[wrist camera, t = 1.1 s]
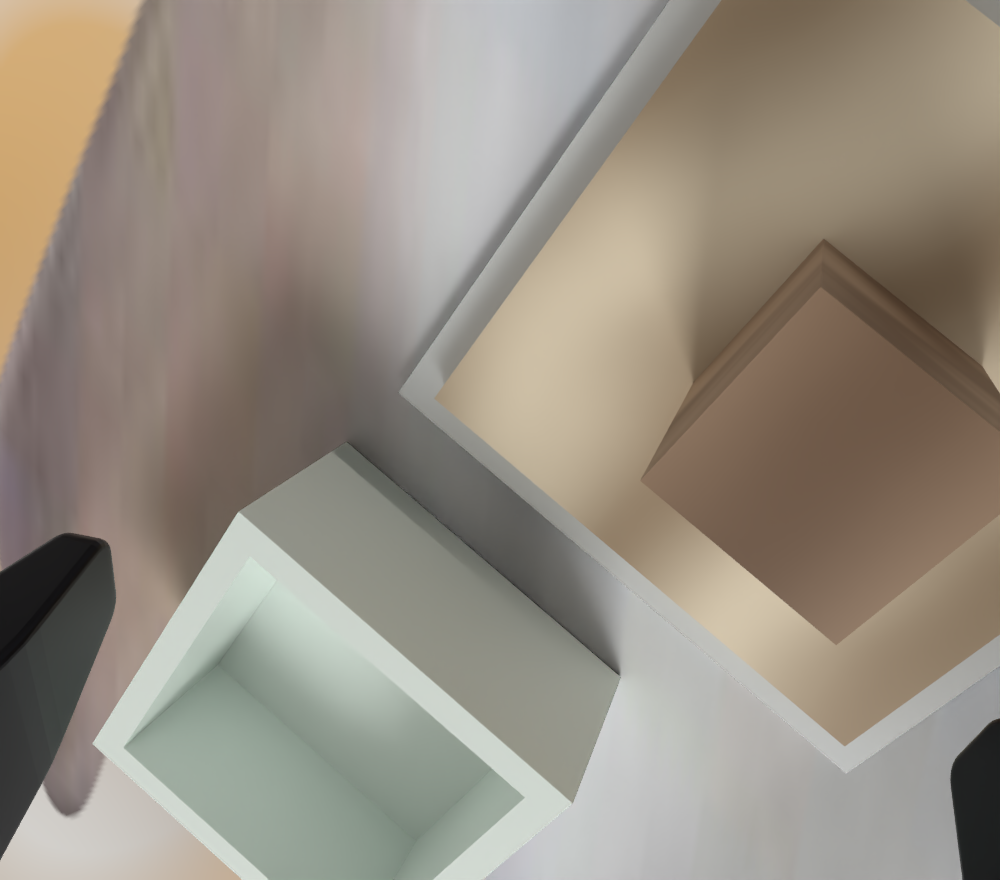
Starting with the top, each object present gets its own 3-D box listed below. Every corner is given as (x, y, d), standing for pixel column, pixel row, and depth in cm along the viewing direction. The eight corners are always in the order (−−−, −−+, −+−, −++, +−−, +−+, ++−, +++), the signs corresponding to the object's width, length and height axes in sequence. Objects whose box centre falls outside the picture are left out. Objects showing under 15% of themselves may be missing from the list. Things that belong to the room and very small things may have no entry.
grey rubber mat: (1471, 320, 15) (1486, 325, 15) (846, 763, 22) (846, 774, 22) (806, -191, 16) (806, -198, 16) (404, 389, 23) (398, 392, 23)
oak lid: (1379, 331, 15) (1730, 461, 9) (844, 726, 21) (849, 959, 15) (809, -111, 16) (797, -252, 10) (447, 389, 22) (304, 486, 16)
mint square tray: (620, 677, 24) (572, 803, 19) (432, 850, 28) (358, 985, 24) (346, 441, 24) (238, 511, 20) (205, 649, 29) (92, 744, 24)
